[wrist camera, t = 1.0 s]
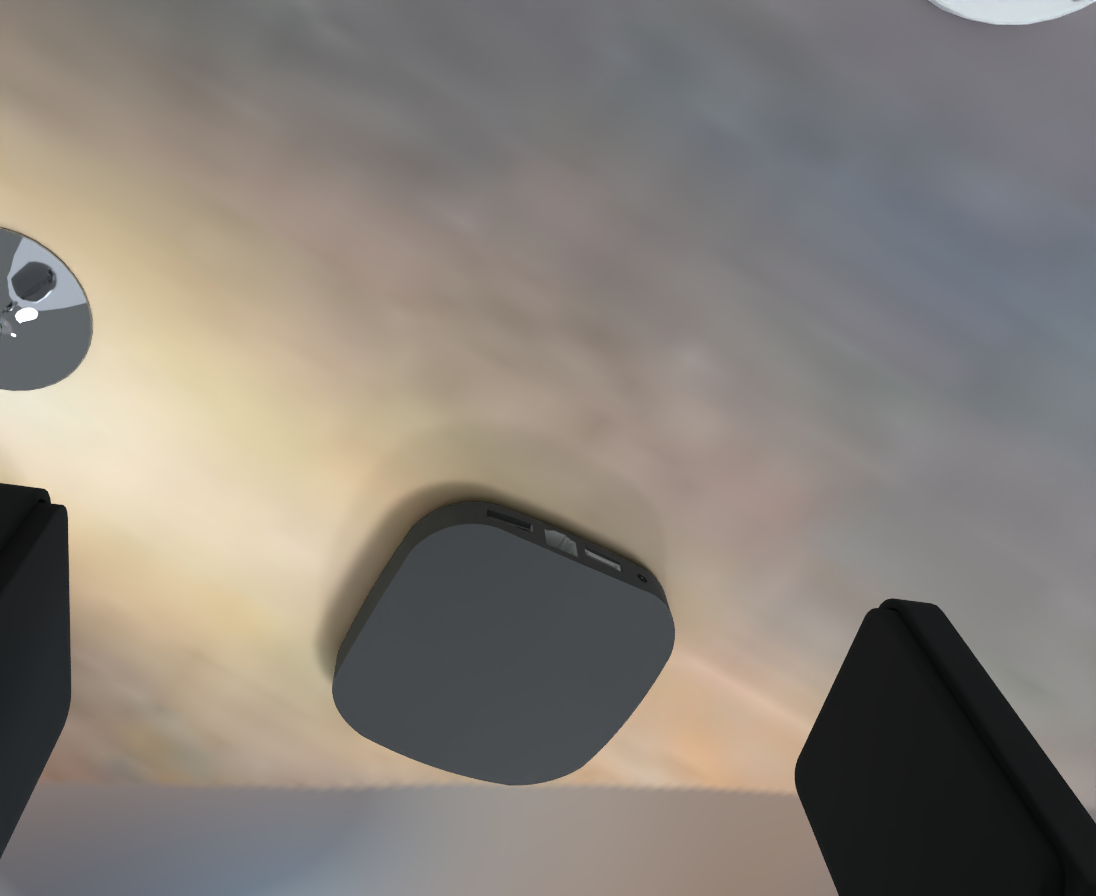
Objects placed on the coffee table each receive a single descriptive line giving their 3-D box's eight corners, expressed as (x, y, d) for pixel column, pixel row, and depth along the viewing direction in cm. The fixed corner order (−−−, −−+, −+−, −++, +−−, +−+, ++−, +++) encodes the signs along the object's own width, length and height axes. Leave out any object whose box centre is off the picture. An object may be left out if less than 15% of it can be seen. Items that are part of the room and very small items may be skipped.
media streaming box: (312, 686, 49) (304, 728, 47) (439, 471, 44) (438, 506, 41) (552, 769, 54) (557, 812, 51) (695, 584, 48) (709, 622, 46)
